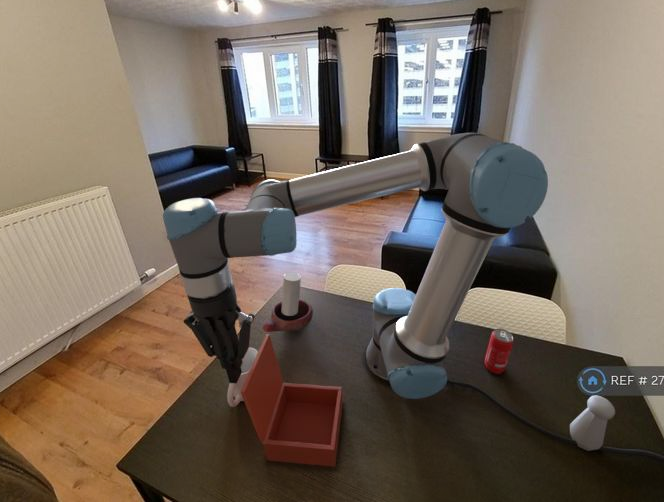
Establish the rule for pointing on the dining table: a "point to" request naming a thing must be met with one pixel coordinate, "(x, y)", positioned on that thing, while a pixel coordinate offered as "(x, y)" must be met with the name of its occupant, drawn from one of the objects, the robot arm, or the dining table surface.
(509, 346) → the beverage can
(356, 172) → the robot arm
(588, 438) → the salt shaker
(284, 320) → the bowl
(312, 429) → the red tray
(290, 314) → the white cylinder
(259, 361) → the box lid
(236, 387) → the mug
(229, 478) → the dining table surface
